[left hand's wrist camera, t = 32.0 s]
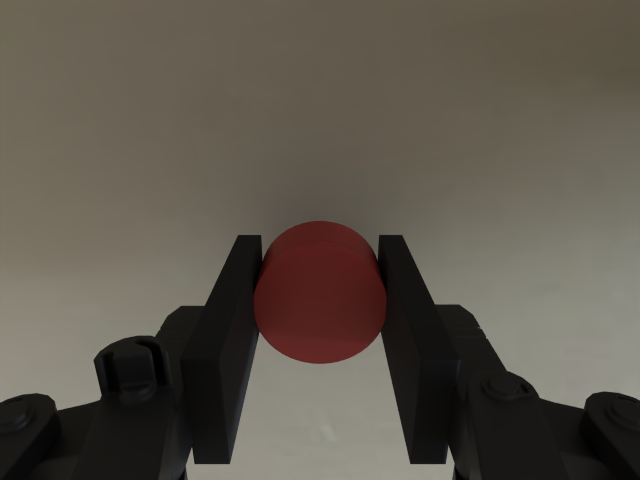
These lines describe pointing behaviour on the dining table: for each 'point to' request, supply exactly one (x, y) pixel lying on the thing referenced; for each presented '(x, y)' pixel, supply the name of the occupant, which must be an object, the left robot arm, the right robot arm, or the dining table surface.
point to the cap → (320, 293)
